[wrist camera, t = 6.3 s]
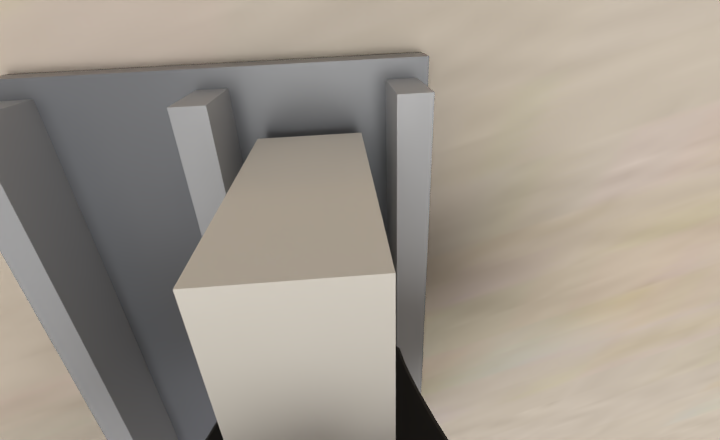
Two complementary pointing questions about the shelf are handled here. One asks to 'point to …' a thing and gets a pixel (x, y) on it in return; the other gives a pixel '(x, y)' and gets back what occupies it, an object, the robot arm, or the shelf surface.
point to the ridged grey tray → (183, 206)
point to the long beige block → (296, 297)
